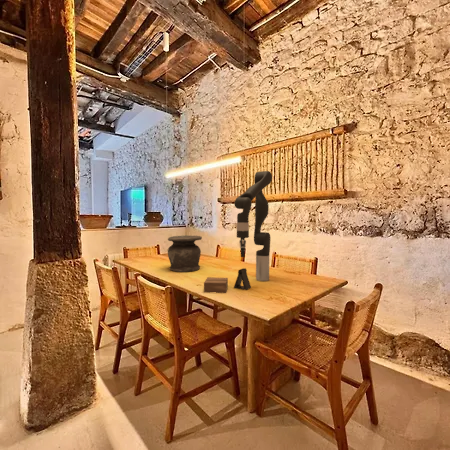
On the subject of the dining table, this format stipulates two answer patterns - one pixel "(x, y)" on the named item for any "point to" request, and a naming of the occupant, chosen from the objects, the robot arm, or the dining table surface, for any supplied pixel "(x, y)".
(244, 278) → the phone stand
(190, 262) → the clay pot
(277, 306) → the dining table surface
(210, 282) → the walnut block
